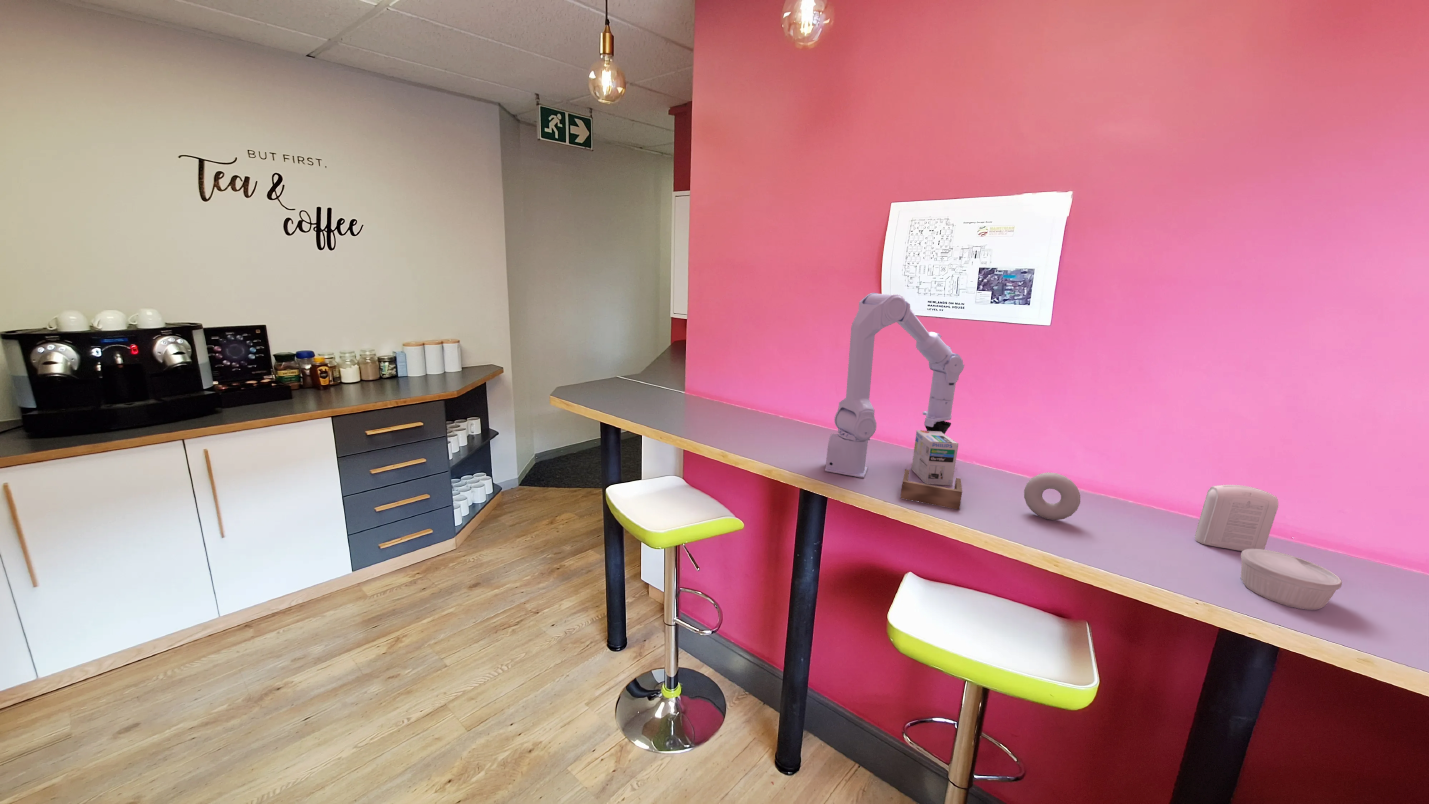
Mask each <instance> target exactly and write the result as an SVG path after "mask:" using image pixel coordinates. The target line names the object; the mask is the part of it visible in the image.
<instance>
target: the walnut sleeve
mask: <svg viewBox="0 0 1429 804" xmlns="http://www.w3.org/2000/svg"><path fill="white" fill-rule="evenodd" d="M910 471H911V470H910V469H904V473H903V477H902V478H903V479H902V482H901V483H902V484H901V491H900V492H901V493H900V497H899V498H900V499H901V500H906V499H907V501H911V500H913V501H912V502H916V501H919V502H918V503H921V502H923V503H922V504H927V505H932V504H933V506H938V507H944V508H948V509H953V510H959V511H960V509H961V508H960V507H961V502H962V495H963V488H962V487H963V485H962V478H959V477H956V478H955V483H954V486H953V487H954V488H950V487H944V486H940V485H939V486H938V485H935V484H925V483H924V482H923V483H921V482H916V481H910V480H909V476H910Z"/></svg>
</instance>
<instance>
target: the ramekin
mask: <svg viewBox="0 0 1429 804" xmlns="http://www.w3.org/2000/svg"><path fill="white" fill-rule="evenodd" d="M1240 559H1241V569H1240V579H1241V581H1242V582H1243V584H1244V586H1245V587H1246V588H1248V589H1249V590H1250V591H1251V592H1253V593H1254V594H1257V595H1258V596H1261V597H1262V598H1265V599H1267V600H1270V601H1271V602H1275V603H1277V604H1281V605H1284V606H1287V607H1291V608H1294V609H1299V610H1307V611H1311V610H1312V611H1315V610H1319V609H1322V608H1324V607H1326V605H1327V604H1328V603H1329V601H1330V600H1331V598H1333V596H1334V594H1335V593H1336V591H1338V590H1340V588H1341V587H1342V585H1343V581H1342V580H1341V578H1340V577H1339V576H1338V575H1336V574H1335V573H1334V572H1332V571H1331V570H1329V569H1328V568H1325V567H1323V566H1321V565H1319V564H1316V563H1314V562H1312V561H1308V560H1306V559H1303V558H1301V557H1297V556H1294V555H1291V554H1287V553H1284V552H1279V551H1275V550H1270V549H1264V550H1263V549H1246V550H1244V551H1241V553H1240Z"/></svg>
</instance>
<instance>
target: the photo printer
mask: <svg viewBox="0 0 1429 804" xmlns="http://www.w3.org/2000/svg"><path fill="white" fill-rule="evenodd" d="M1278 508H1279V499H1278V497H1277V496H1276V495H1273V494H1272V493H1271V492H1268V491H1265V490H1263V489H1260V488H1256V487H1253V486H1247V485H1239V484H1222V485H1221V484H1220V485H1212V486H1211V487H1209V489H1208V490H1207V493H1206V496H1205V499H1204V503H1203V506H1202V509H1201V512H1200V516H1199V520H1198V523H1197V527H1196V529H1195V535H1194V536H1195V537H1194V539H1195V541H1196V542H1198V543H1199V544H1202V545H1205V546H1212V547H1217V548H1222V549H1228V550H1234V551H1241V552H1242V551H1244V550H1246V549H1263V550H1266V545H1267V542H1268V539H1269V536H1270V534H1271V530H1272V528H1273V524H1274V521H1275V518H1276V515H1277V511H1278Z"/></svg>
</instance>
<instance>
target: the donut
mask: <svg viewBox="0 0 1429 804" xmlns="http://www.w3.org/2000/svg"><path fill="white" fill-rule="evenodd" d="M1049 489H1050V490H1054V491H1057V492H1058V494H1060V500H1059V501H1058V502H1056V503H1055V502H1054V503H1050V502H1047V501H1046V500H1045V499H1044V498H1043V493H1044V492H1045V491H1046V490H1049ZM1023 498H1024V500H1025V503H1026V506H1027V507H1028V508H1029V509H1030V510H1031V512H1033V513H1034V514H1035V515H1037V516H1038V517H1041V518H1043V519H1045V520H1051V521H1058V520H1064V519H1067V518H1069V517H1071V516H1073V515H1074V514H1075V513H1076V512H1077V511H1078V509H1079V507H1080V505H1081V493H1080V490H1079V488H1078V486H1077V485H1076V484H1075V482H1074V481H1072V480H1071V479H1070V478H1068V477H1067V476H1065V475H1062V474H1060V473H1058V472H1048V471H1047V472H1042V473H1039V474H1037V475H1035V476H1033V477H1031V478H1030V479H1029V480H1028V482H1026V484H1025V487H1024V490H1023Z"/></svg>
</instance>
